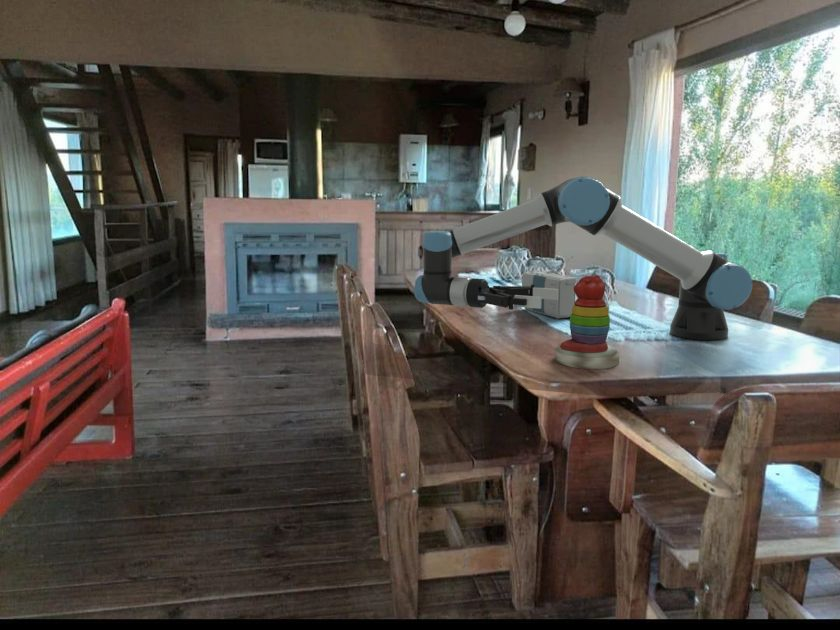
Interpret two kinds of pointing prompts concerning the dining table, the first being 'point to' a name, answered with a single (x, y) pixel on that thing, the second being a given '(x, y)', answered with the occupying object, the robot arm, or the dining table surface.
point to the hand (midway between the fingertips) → (549, 298)
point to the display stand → (588, 358)
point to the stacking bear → (588, 318)
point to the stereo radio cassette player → (553, 281)
